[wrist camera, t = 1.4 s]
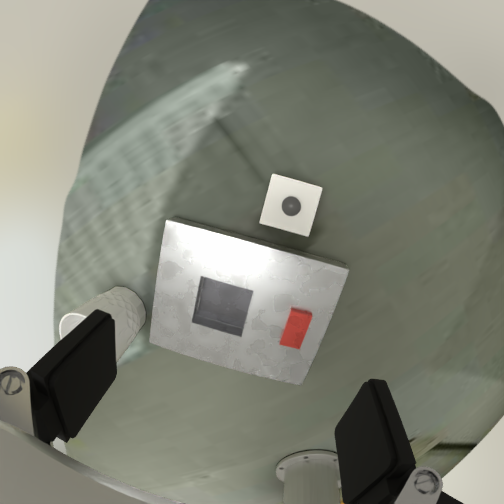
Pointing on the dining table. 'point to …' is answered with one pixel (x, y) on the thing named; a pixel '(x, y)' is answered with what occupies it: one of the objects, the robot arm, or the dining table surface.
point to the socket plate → (242, 300)
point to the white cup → (121, 309)
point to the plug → (290, 205)
